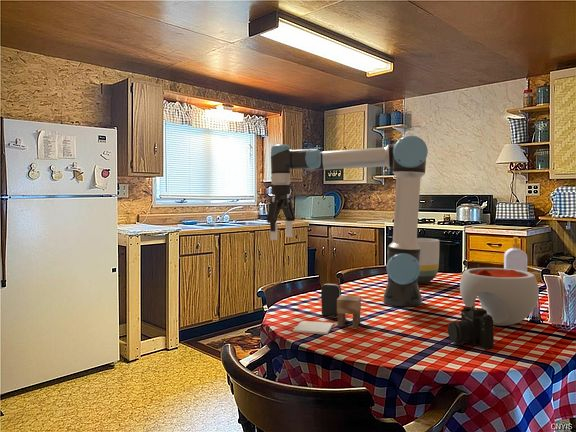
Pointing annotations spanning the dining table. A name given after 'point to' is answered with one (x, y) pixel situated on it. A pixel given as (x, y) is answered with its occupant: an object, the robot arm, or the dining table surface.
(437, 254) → the planter
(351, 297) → the stool
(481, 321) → the camera
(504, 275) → the pot
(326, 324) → the mat
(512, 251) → the soap bottle
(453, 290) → the dining table surface
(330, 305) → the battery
